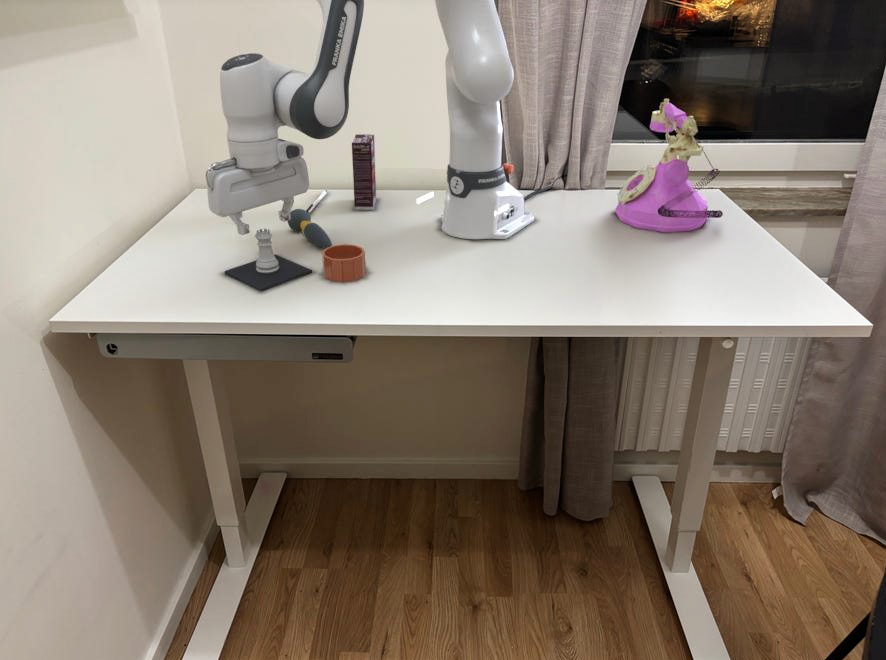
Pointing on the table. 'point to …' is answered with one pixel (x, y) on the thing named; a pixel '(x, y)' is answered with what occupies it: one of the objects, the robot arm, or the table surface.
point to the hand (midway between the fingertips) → (265, 226)
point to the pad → (266, 281)
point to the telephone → (667, 181)
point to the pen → (316, 202)
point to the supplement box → (364, 172)
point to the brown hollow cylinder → (344, 263)
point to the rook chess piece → (265, 253)
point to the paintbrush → (308, 228)
